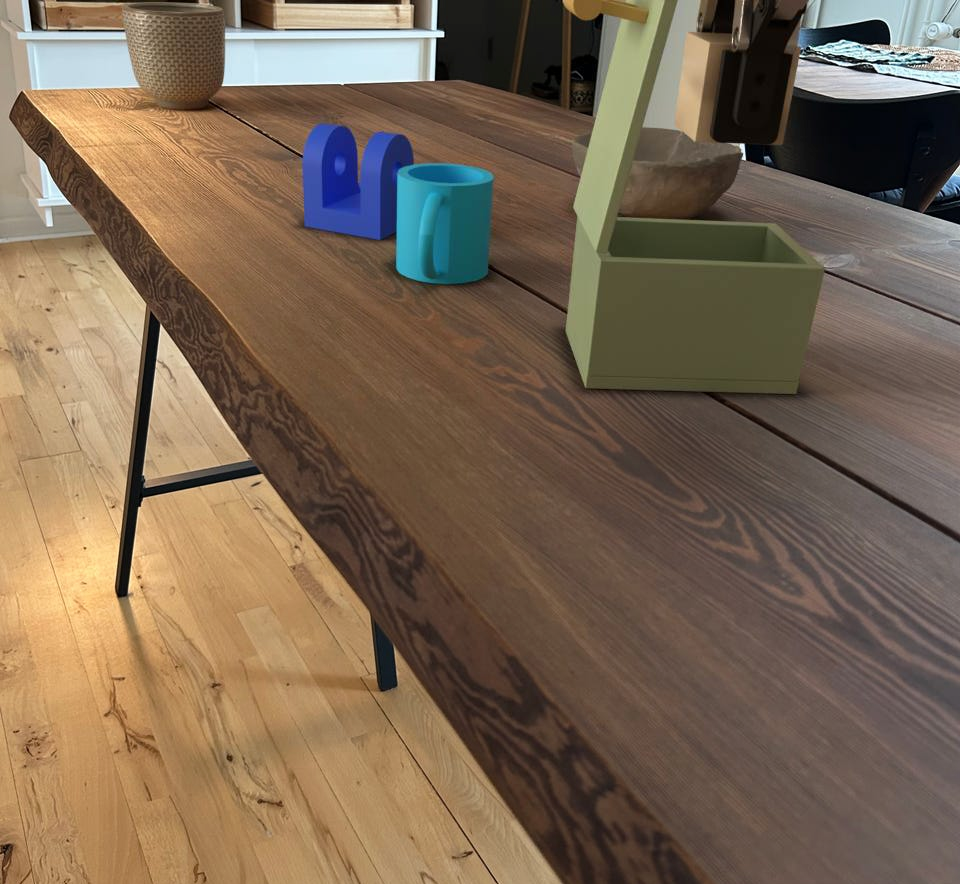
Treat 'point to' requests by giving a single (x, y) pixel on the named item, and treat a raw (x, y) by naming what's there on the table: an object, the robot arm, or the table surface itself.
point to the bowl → (671, 174)
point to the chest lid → (619, 107)
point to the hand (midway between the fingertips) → (728, 127)
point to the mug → (443, 222)
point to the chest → (692, 307)
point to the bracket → (352, 181)
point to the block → (712, 85)
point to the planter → (176, 51)
